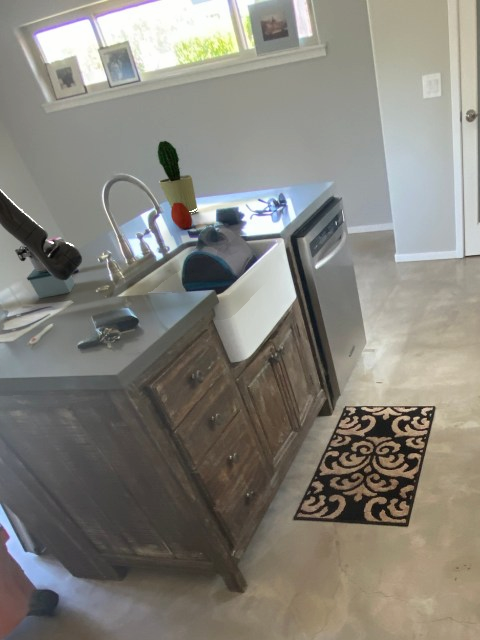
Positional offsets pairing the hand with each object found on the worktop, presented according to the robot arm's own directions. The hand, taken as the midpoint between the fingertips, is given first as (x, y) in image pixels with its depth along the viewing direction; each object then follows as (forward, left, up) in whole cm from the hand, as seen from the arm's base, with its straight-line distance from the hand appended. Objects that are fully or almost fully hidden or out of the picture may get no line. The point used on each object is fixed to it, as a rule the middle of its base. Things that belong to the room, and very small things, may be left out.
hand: (33, 246), depth 170 cm
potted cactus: (+44, +94, -14) cm, 105 cm away
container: (+1, -2, -14) cm, 14 cm away
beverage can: (+1, -2, -7) cm, 8 cm away
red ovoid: (+44, +60, -14) cm, 76 cm away
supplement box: (+1, +21, -14) cm, 25 cm away
